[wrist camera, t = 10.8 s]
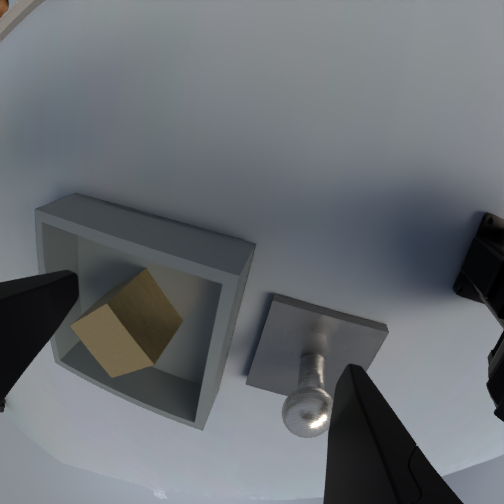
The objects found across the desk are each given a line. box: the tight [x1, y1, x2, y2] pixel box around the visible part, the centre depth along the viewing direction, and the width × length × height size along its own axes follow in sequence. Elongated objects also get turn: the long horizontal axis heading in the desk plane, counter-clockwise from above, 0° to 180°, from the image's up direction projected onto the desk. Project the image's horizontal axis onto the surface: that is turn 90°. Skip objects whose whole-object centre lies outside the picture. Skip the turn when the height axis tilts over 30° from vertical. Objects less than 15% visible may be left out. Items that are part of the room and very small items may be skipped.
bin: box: [35, 193, 256, 431], centre depth 23 cm, size 16×16×5 cm
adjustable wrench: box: [0, 0, 44, 42], centre depth 17 cm, size 25×6×2 cm, turn 99°
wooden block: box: [70, 268, 184, 378], centre depth 23 cm, size 5×5×6 cm
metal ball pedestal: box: [246, 294, 389, 438], centre depth 21 cm, size 9×9×8 cm
